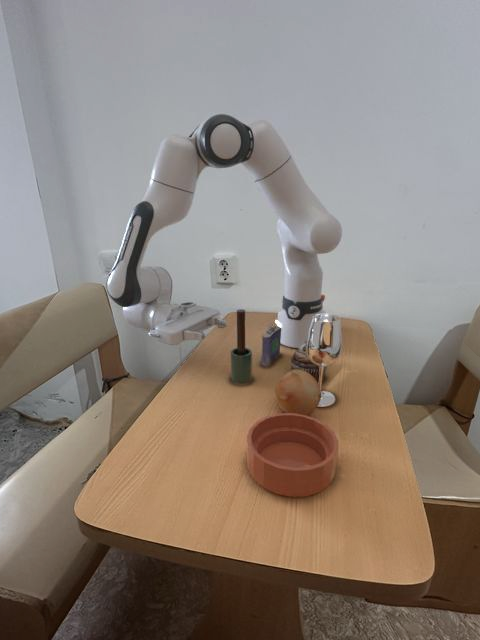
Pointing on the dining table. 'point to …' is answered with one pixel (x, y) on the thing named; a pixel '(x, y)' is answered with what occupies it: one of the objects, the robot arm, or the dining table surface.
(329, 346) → the wineglass
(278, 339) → the blue box
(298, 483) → the bowl
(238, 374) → the holder
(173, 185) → the robot arm
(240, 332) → the stick
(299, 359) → the cupcake
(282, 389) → the onion
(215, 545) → the dining table surface
